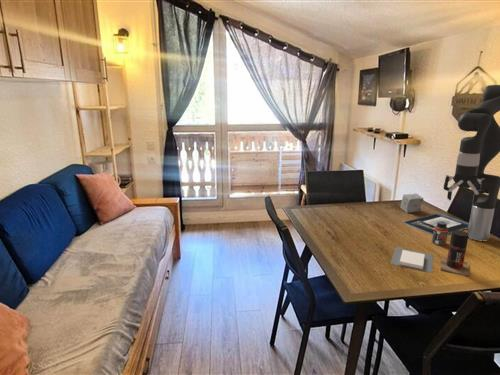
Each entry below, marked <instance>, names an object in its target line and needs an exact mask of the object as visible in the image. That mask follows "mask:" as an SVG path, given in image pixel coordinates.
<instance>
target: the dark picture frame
mask: <svg viewBox="0 0 500 375" xmlns="http://www.w3.org/2000/svg"><path fill="white" fill-rule="evenodd" d="M438 221H442V222H446V223H447V228H448V234H447V235H450V234H449V233H451V234H452V231H453V230H461V231H463V230H462V229H465V228H468V226H469V222H467V221H463V220H460V219H457V218H455V217H452V216H448V215H445V214H443V213H433V214H429V215H426V216H421V217H418V218H415V219H410V220H405V221H403V222H402V223H403V224H404V225H407V226H409V227H412V228H414V229H416V228H417V230H419V231H422V232H424V233H426V232H427V234H429V235H431V234H432V235H431V236H433V233H434V227H435V226H436V225H437V223H438ZM465 230H466V229H465Z"/></svg>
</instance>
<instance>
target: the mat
mask: <svg viewBox="0 0 500 375" xmlns="http://www.w3.org/2000/svg"><path fill="white" fill-rule="evenodd" d="M403 250H406V251H411V252H416V253H421V254H425V256H424V264H423V269H418V268H414V267H409V266H405V265H400V264H399V263H400V258H401V255H402V251H403ZM433 264H434V254H432V253H426V252H421V251H417V250H411V249H406V248H400V247H394V251H393V254H392V257H391V260H390V265H394V266H399V267H405V268H408V269H412V270H418V271H421V272H422V271H423V272H424V273H425V272H426V273H430V274H433V266H434V265H433Z"/></svg>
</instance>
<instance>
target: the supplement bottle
mask: <svg viewBox="0 0 500 375" xmlns="http://www.w3.org/2000/svg"><path fill="white" fill-rule="evenodd" d="M448 235H449V234H448V228H447V223H446V222H442V221H438V223H437V225H436V226H435V227H434V233H433V235H432V240H431V243H432V244H433V245H435V246H440V247H443V246H446V244H447V238H448Z"/></svg>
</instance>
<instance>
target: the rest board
mask: <svg viewBox="0 0 500 375" xmlns="http://www.w3.org/2000/svg"><path fill="white" fill-rule="evenodd" d="M447 258H448V257H442V256H441V257H440V271H441V272H447V273H451V274H456V275H460V276H464V277H465V278H469V277H470V272H469V271H470V270H469V266H468V265H469V264H468V262H467V261H464V263H463V268H462V269H453V268H450V267H449V266H447V264H446V263H447Z"/></svg>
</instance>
